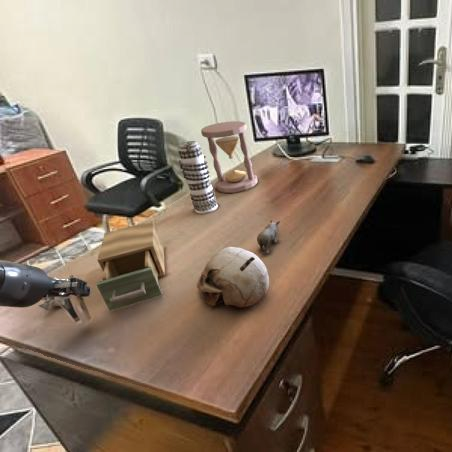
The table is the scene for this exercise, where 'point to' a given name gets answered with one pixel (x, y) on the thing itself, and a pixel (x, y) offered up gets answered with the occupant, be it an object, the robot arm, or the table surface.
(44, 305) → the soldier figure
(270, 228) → the rhino figurine
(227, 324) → the table surface
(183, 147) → the leaning tower model
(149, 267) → the drawer
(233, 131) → the hourglass
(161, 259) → the cabinet
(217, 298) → the coin bank
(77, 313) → the milkshake
